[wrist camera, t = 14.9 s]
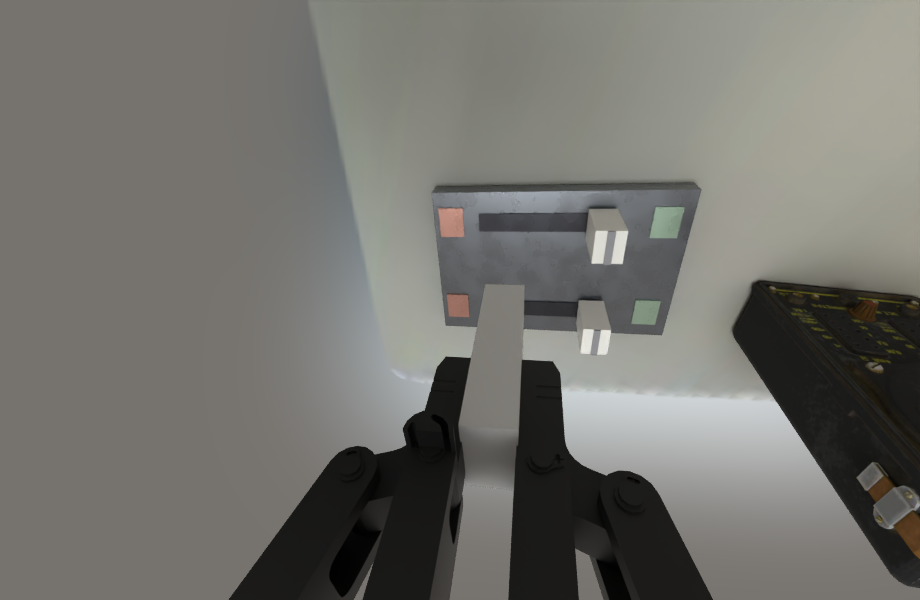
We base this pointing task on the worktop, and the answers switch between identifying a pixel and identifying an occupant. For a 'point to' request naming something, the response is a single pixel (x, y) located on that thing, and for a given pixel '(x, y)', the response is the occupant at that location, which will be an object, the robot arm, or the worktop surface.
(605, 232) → the block
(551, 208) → the breaker panel
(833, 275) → the worktop surface
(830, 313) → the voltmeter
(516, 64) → the worktop surface
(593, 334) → the block
